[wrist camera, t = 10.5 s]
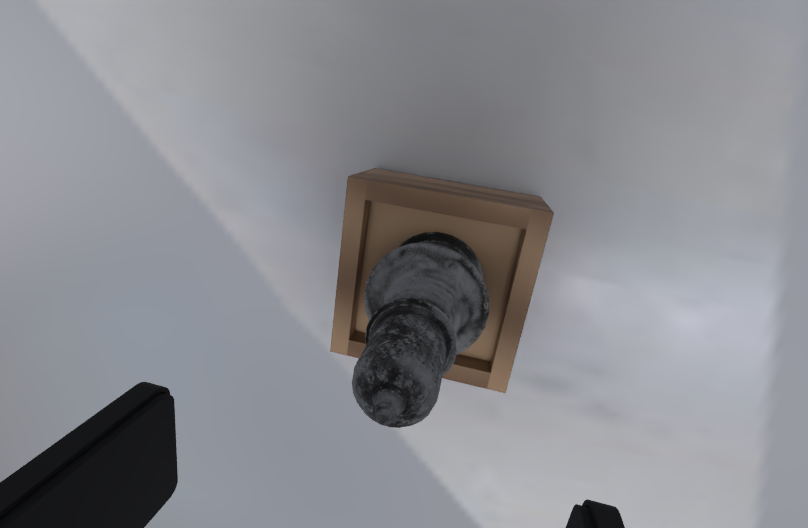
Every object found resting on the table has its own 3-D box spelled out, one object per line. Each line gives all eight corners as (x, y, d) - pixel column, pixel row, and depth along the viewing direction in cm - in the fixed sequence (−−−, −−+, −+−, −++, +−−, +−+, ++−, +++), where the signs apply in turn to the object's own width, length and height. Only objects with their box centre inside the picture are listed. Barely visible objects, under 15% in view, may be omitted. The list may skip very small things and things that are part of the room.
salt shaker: (495, 231, 21) (504, 342, 10) (482, 335, 23) (477, 527, 12) (383, 221, 22) (276, 310, 11) (379, 321, 24) (284, 486, 13)
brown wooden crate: (374, 168, 25) (347, 176, 21) (540, 196, 24) (553, 213, 19) (357, 314, 29) (330, 351, 24) (502, 346, 27) (505, 393, 22)
